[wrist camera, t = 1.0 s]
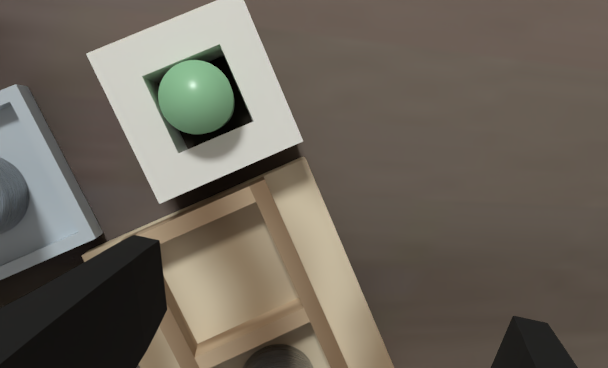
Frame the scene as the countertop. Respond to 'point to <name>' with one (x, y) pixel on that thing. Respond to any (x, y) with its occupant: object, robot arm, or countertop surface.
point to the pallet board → (258, 279)
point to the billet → (12, 196)
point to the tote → (40, 188)
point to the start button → (196, 97)
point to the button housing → (205, 47)
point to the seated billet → (278, 358)
